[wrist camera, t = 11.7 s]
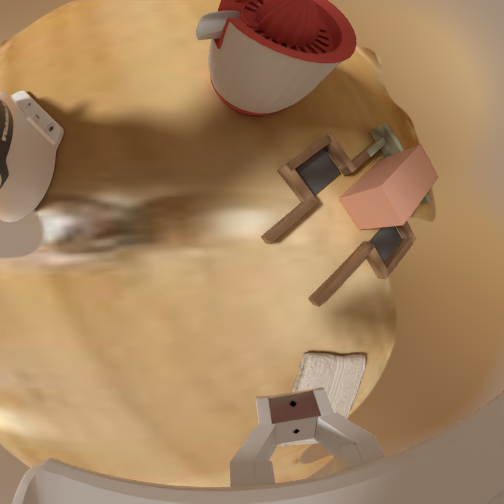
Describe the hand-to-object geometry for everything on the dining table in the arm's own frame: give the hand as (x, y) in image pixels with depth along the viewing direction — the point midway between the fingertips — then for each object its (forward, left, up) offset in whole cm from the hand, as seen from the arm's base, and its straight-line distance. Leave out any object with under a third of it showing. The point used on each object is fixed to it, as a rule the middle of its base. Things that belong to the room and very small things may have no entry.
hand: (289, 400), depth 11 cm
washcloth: (+25, +1, -25) cm, 35 cm away
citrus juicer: (-22, +23, -25) cm, 40 cm away
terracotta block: (+4, +30, -25) cm, 39 cm away
